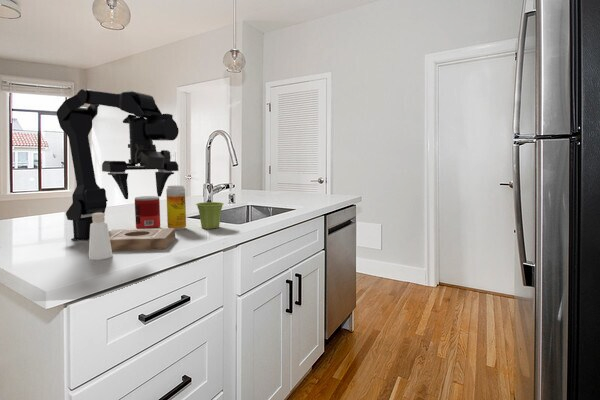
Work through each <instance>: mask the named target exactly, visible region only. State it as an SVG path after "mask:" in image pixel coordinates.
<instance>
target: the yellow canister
mask: <svg viewBox="0 0 600 400" xmlns="http://www.w3.org/2000/svg"><path fill="white" fill-rule="evenodd" d="M165 192H166V193H165V194H166V216H167V219H166V220H167V228H175V231H181V230H185V228H186V227H187V211H186V206H187V205H186V188H185V186H184V185H167V186H166V191H165Z"/></svg>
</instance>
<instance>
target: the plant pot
mask: <svg viewBox="0 0 600 400" xmlns="http://www.w3.org/2000/svg"><path fill="white" fill-rule="evenodd" d="M223 205H224V202H215V201H212V202H211V201H206V202H197V203H196V204H195V206H197V210H198V215H199V218H200V227H201V229H206V230H209V229H210V230H213V229H218V228H220V224H221V223H220V222H221V215H222V209H223Z"/></svg>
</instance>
